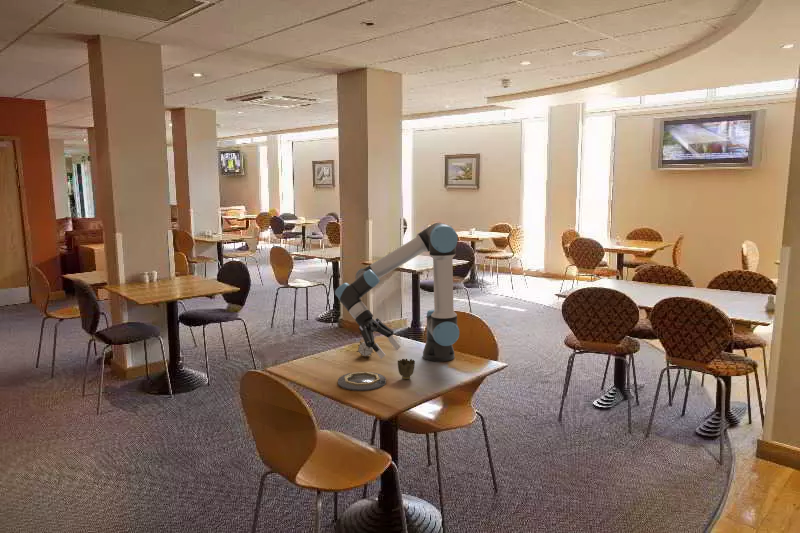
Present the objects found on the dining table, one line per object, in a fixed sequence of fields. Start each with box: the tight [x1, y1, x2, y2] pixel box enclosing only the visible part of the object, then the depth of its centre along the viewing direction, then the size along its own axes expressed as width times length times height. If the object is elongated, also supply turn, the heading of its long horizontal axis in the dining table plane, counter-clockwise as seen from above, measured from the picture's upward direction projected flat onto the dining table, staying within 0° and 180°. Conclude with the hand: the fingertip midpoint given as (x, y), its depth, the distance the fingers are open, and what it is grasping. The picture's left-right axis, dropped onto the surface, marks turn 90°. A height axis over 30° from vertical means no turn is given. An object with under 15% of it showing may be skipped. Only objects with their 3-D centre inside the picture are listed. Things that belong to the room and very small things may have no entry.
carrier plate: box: [337, 371, 387, 392], centre depth 245 cm, size 20×20×2 cm
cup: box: [397, 358, 416, 381], centre depth 249 cm, size 8×7×8 cm
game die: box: [356, 340, 374, 359], centre depth 280 cm, size 9×8×10 cm
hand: (391, 352), depth 250 cm, fingers open, 13 cm apart
